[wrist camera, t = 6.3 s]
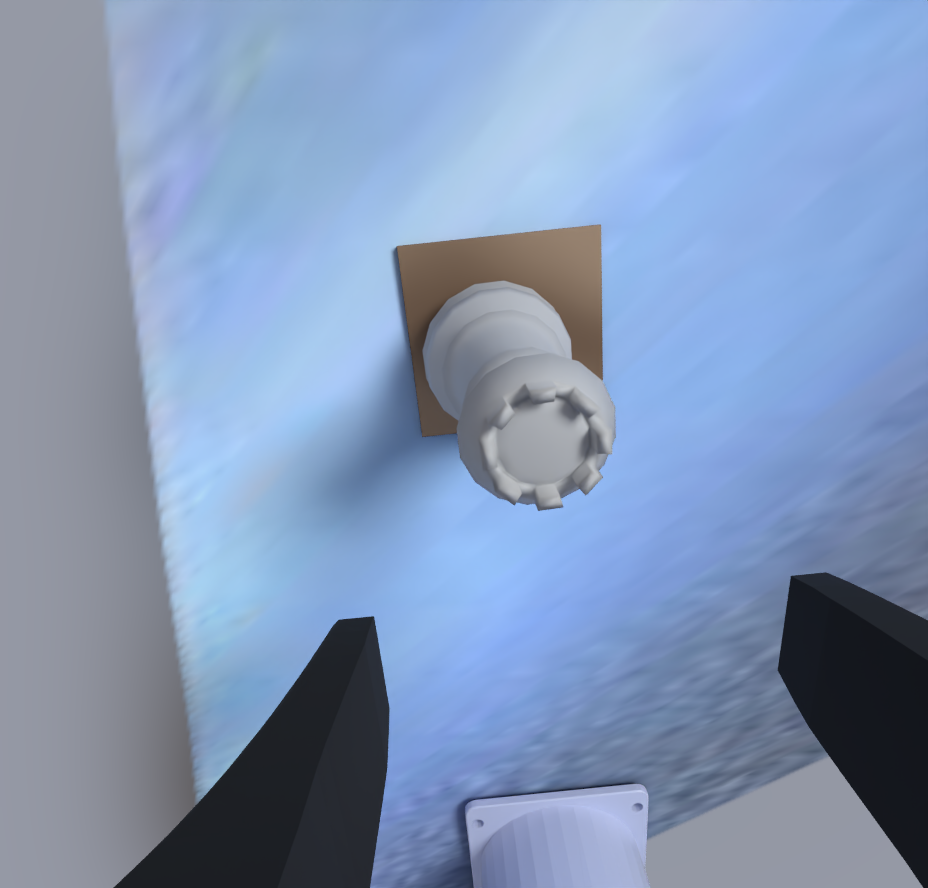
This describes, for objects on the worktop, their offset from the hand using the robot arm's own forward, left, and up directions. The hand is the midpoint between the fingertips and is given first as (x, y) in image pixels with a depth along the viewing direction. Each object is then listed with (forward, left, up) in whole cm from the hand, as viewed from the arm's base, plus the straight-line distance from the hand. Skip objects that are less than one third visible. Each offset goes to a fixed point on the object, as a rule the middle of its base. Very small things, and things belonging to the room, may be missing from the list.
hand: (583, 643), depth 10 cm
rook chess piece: (+3, 0, -10) cm, 11 cm away
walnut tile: (+3, 0, -11) cm, 11 cm away
